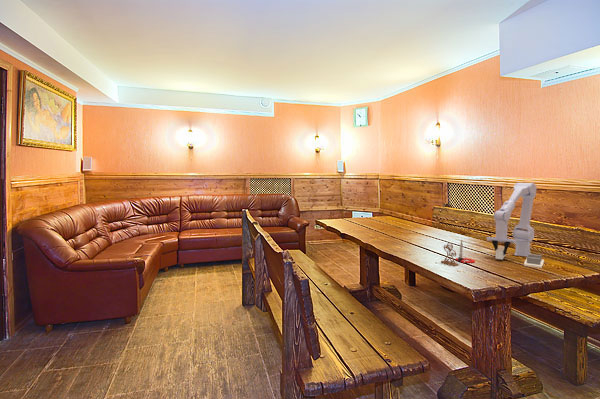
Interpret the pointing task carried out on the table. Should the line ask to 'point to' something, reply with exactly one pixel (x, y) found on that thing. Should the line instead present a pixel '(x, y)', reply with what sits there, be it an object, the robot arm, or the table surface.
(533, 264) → the peg rack
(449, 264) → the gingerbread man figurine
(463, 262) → the tow hook
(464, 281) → the table surface
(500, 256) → the white long rectangular piece
